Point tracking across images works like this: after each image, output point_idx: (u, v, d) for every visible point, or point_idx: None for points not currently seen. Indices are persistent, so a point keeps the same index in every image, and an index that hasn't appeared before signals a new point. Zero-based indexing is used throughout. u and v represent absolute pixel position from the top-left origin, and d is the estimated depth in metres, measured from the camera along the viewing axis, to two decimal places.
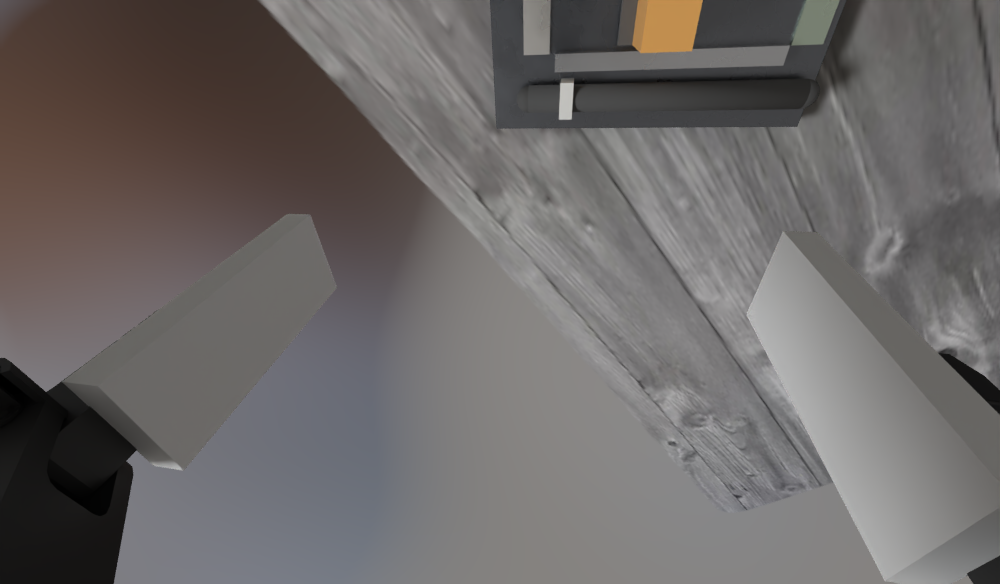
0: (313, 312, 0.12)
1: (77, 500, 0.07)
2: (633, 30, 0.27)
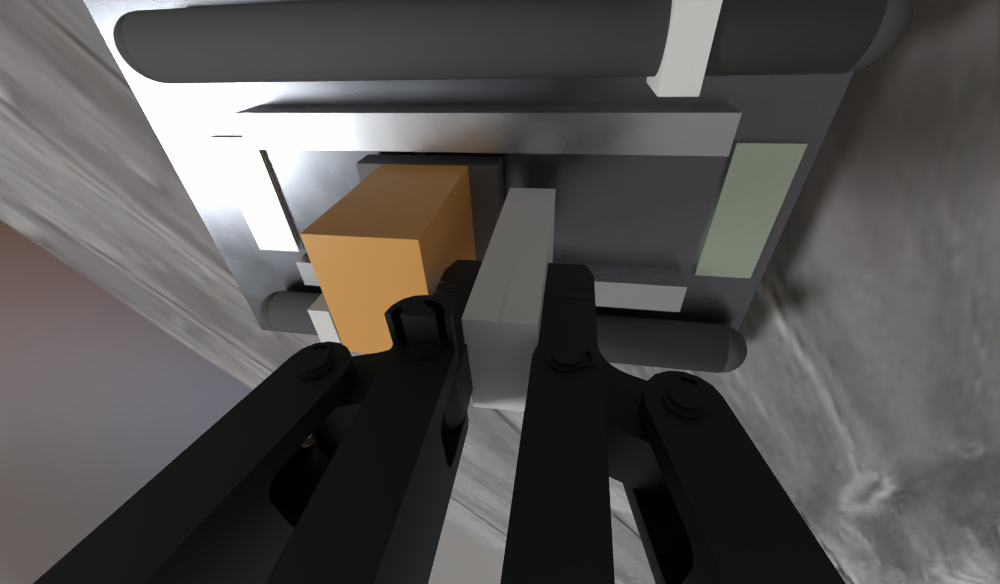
0: None
1: None
2: None
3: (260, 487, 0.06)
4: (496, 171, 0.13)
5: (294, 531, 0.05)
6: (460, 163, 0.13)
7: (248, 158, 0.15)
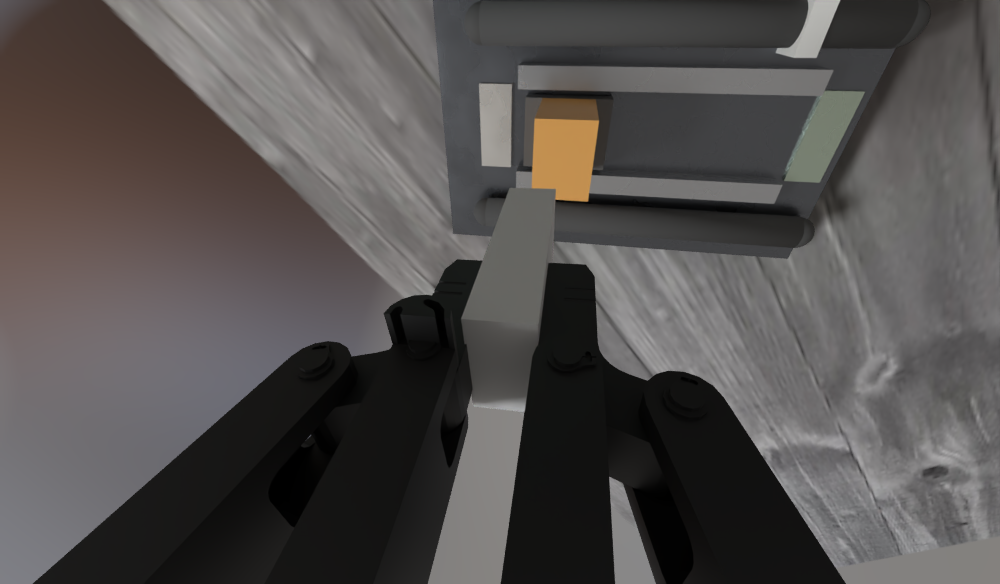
0: None
1: None
2: None
3: (260, 486, 0.06)
4: (612, 103, 0.22)
5: (294, 531, 0.05)
6: (590, 98, 0.22)
7: (502, 98, 0.24)
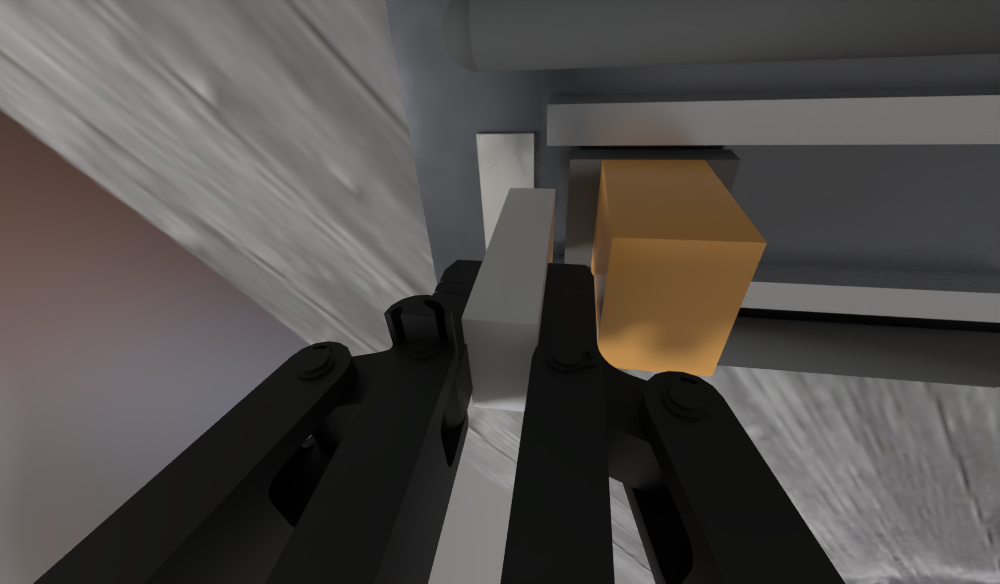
0: None
1: None
2: (591, 247, 0.14)
3: (261, 486, 0.06)
4: (737, 165, 0.12)
5: (294, 531, 0.05)
6: (692, 157, 0.12)
7: (517, 156, 0.14)
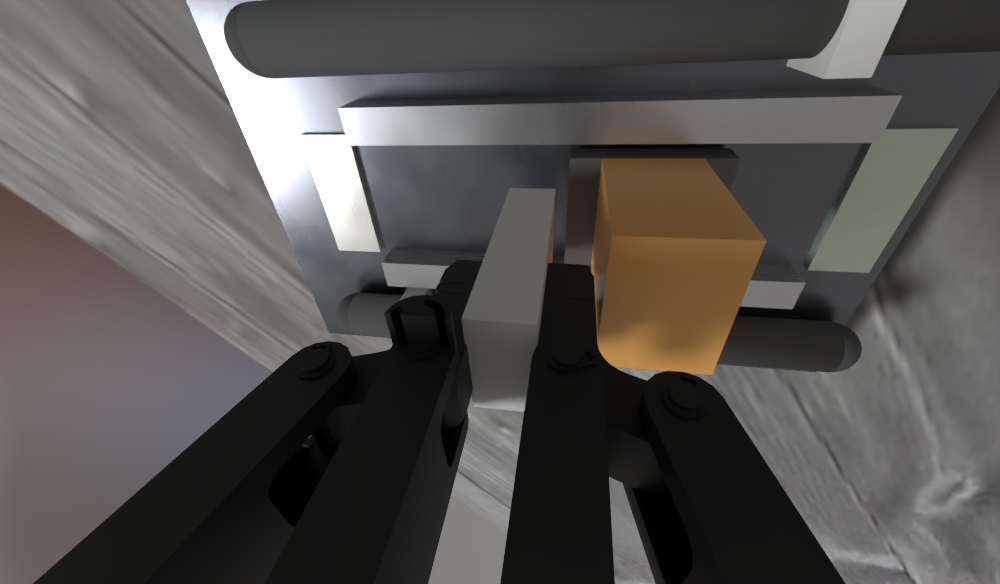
0: None
1: None
2: (591, 246, 0.14)
3: (260, 486, 0.06)
4: (737, 164, 0.12)
5: (294, 531, 0.05)
6: (692, 156, 0.12)
7: (339, 155, 0.15)
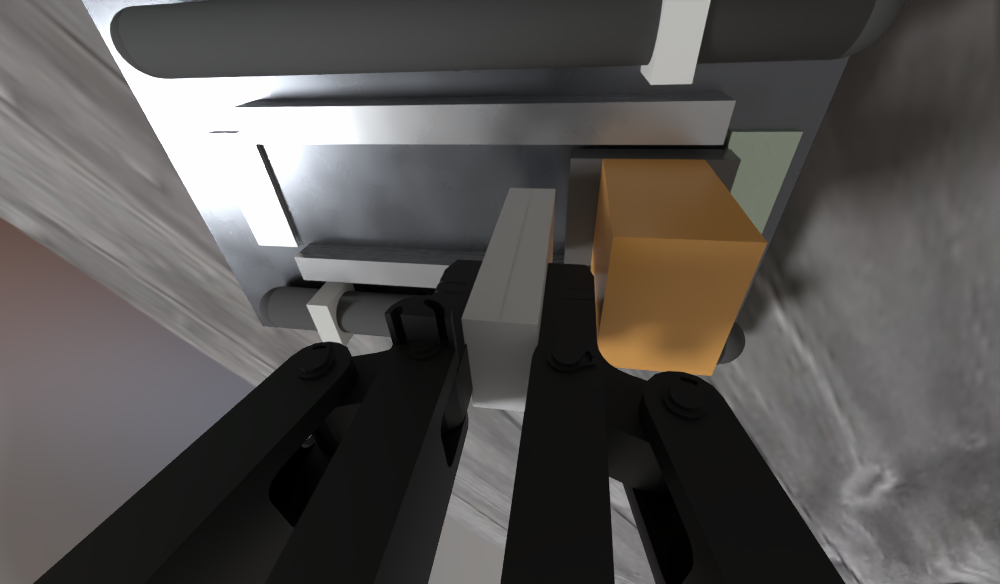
0: None
1: None
2: (591, 246, 0.14)
3: (260, 487, 0.06)
4: (737, 165, 0.12)
5: (294, 531, 0.05)
6: (692, 157, 0.12)
7: (246, 153, 0.15)
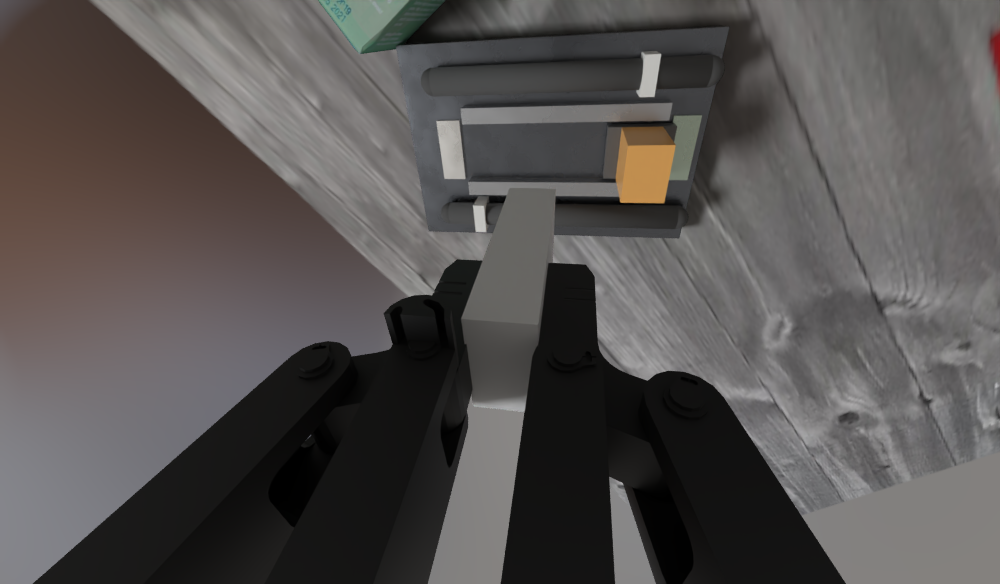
0: None
1: None
2: (616, 168, 0.31)
3: (260, 487, 0.06)
4: (676, 128, 0.29)
5: (294, 531, 0.05)
6: (658, 125, 0.29)
7: (453, 130, 0.33)
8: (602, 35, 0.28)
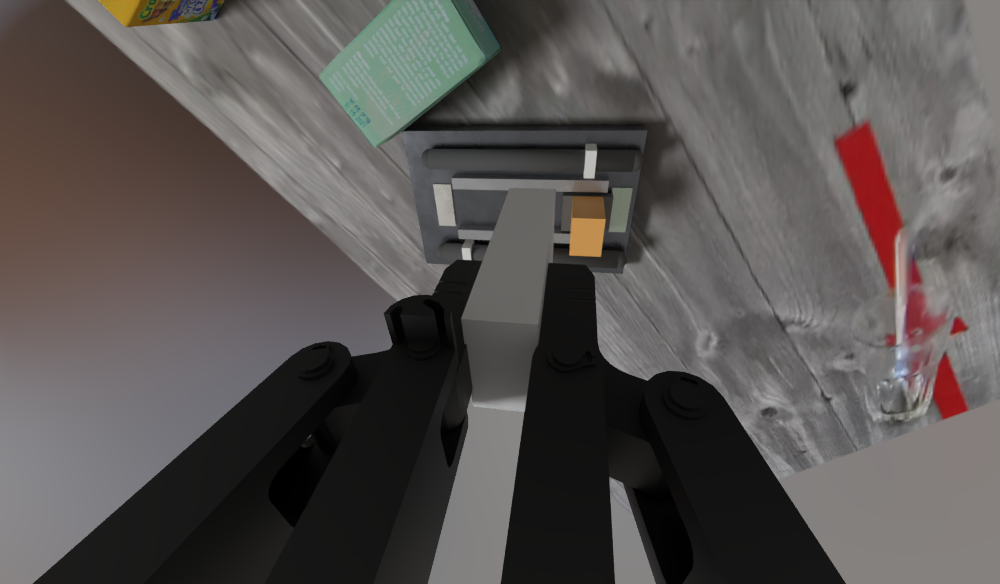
0: None
1: None
2: (570, 224, 0.41)
3: (260, 487, 0.06)
4: (612, 198, 0.39)
5: (294, 531, 0.05)
6: (600, 195, 0.39)
7: (446, 191, 0.43)
8: (556, 131, 0.37)
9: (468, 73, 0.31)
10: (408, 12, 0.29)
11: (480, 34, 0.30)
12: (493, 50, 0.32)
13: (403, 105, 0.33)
